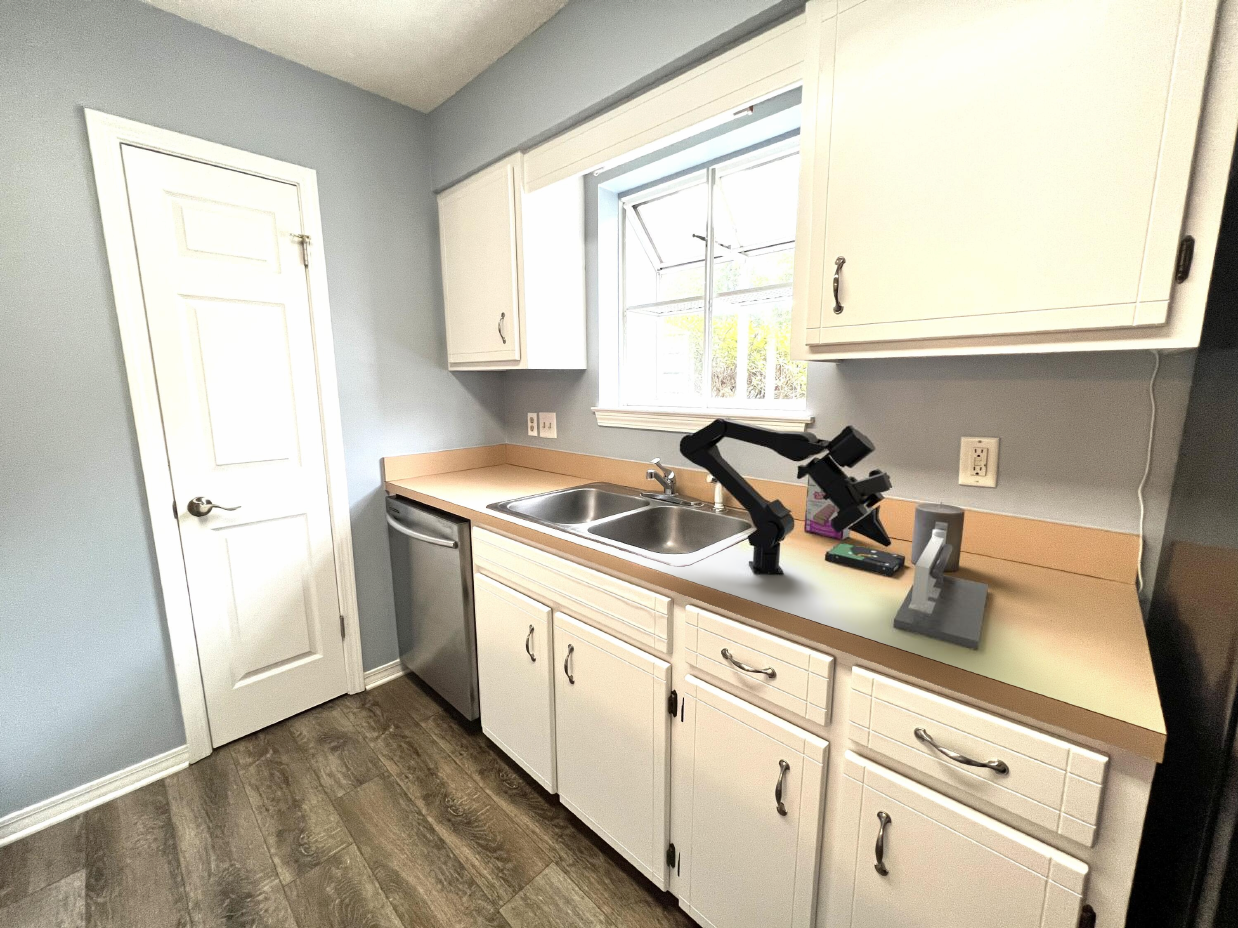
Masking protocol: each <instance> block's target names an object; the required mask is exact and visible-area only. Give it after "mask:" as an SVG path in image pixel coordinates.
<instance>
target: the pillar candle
mask: <svg viewBox="0 0 1238 928" xmlns="http://www.w3.org/2000/svg"><path fill="white" fill-rule="evenodd" d="M914 509H915V511H914V520H913V521H914V522H913V531H912V532H913V533H912V542H911V543H912V544H911V551H910V553H911V555H910V563H912V564H914V565H916V563H917V562H918V560H919V558H920V557H921V555H922V553H923V551H924V550H925V548H926V546H927V545H928V543H929V541H930V539H931V538H932V531H933V529H935V523H936V522H942V523H948V526H947V534H946V543H945V544H950V545H951V546H952V551H951V554H950V556H949V558H948V561H947V563H946V565H945V568H944V570H943V573H944V572H945V573H946V572H957V571H959V569H960V558H961V552H962V551H961V549H962V541H963V534H964V533H963V532H964V525H965V524H964V523H965V514H966V513H965V512H966V510H965V509H964V508H962V507H959V506H956V505H952V504H945V503H943V502H940V503H938V502H937V503H935V502H933V503H932V502H925V503H923V502H922V503H917V504H915V508H914Z"/></svg>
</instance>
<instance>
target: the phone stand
mask: <svg viewBox="0 0 1238 928" xmlns="http://www.w3.org/2000/svg"><path fill="white" fill-rule="evenodd" d="M947 526H948V523H942V522H936V523H935V529H940V530H944V531H946V534H947ZM945 543H946V540H945ZM988 588H989V584H988V583H982V582H977V581H973V580H969V579H968V580H967V579H964V578H960V577H954V576H949V575H945V573H944V572H943V573H942V575H941V577H940V578H939V579H936V582H935V584H934V586H933V588H932V591H931V593H930V595H929V598H928V600H927V602H926V604H925V607H922V606H918V605H914V604H911V600H912V591H913V584H912V585H911V587H910V589H909V591H908V592H907V594H906V596H905V598H904V600H903V601H902V603H901V605H900V607H899V609H898V611H897V613H896V615H895V616H894V618H893V623H892V624H893V626H892V628H896V629H899V630H903V631H906V632H909V633H913V634H917V635H921V636H925V637H928V638H932V639H935V640H938V641H942V642H946V643H949V644H954V645H958V646H960V647H965V648H968V649H972V650H975V651H978V649H979V642H980V637H981V636H980V635H981V630H982V626H983V618H984V612H985V607H986V602H987V595H988V590H989V589H988Z"/></svg>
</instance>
